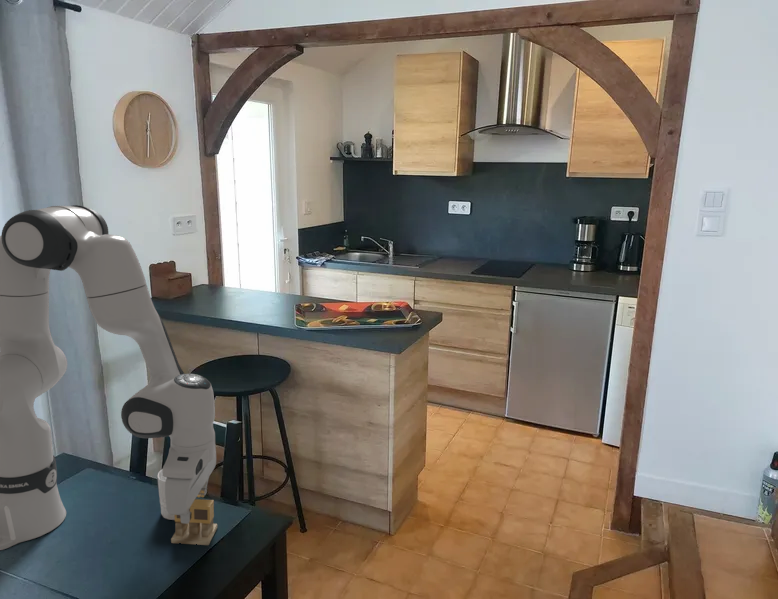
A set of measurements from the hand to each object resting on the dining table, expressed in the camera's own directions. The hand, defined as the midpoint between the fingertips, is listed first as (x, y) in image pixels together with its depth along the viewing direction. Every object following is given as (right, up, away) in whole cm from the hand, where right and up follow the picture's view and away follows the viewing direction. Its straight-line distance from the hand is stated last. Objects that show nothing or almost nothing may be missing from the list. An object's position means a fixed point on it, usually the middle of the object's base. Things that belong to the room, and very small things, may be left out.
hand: (194, 508), depth 118 cm
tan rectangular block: (0, -3, +1) cm, 3 cm away
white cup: (-7, -5, +9) cm, 13 cm away
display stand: (0, -7, +2) cm, 7 cm away
